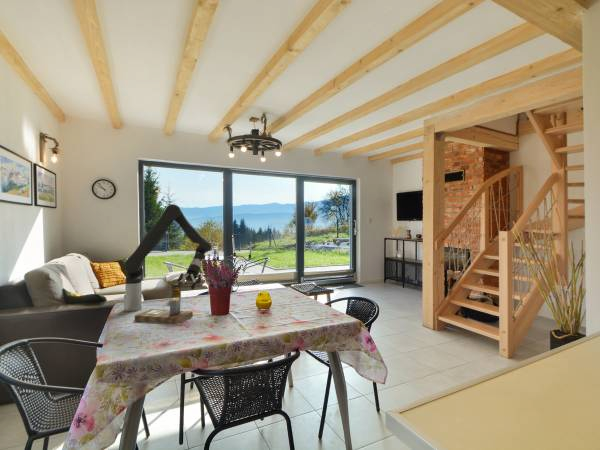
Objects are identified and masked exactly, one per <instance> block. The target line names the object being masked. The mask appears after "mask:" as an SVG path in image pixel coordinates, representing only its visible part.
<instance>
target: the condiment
mask: <svg viewBox="0 0 600 450" xmlns="http://www.w3.org/2000/svg"><path fill="white" fill-rule="evenodd" d="M178 285H179V283H174V284H172V285H171V286H172V287H171V299H172V298H180V303H182V302H183V300H182V299H181V298H182V291H181V290H182V288H181V289H179V288H178ZM166 302H168V303H169V304H170V300H167V301H166Z"/></svg>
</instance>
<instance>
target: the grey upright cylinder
mask: <svg viewBox="0 0 600 450" xmlns="http://www.w3.org/2000/svg"><path fill="white" fill-rule="evenodd" d="M169 301H170V303H169V310H170V315H176V316H177V315H179V314H180V311H181V302H180V298H172V297H171V298H170V299H169Z"/></svg>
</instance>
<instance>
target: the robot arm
mask: <svg viewBox="0 0 600 450" xmlns="http://www.w3.org/2000/svg"><path fill="white" fill-rule="evenodd" d="M174 222H175V223H176V224H177V225H178V226H179V227H180V229H181V230H182V231H183V233H185V235H186V237H187V238H188V239H189V241H191V242H192V244H198V245H197V246H196V248H195V252H194V256H193V258H192V260H191V262H190V263H189V265H188V268H187V269H186V273H180V275H179V277H178V278H177V280H176V281H177V282H178V284H179V285H178V288H179V289H181V290H182V286H183V284H184V283H187V282H192V283H191V285H190V289H191V290H192V291H193V290H194V289H195V287H196V285H199V284H201V280H202V279H203V275H202V274H201V273H200V272H201V270H202V267H203V265H202V263H201V261H199V260H202V259H206V255H205V254H206V253H208V252H209V251H211V250H212V244H211V242H210V241H208V239H206V238H205V237H204V236H202V235H201V234H200V233H199V231H197V229H196V228H195V227H194V226H193V225H192V224H191V222H189V220H188V219H187V217H186V216H185V215H184V214H183V212H182V209H181V207H180V205H177V204H175V203H173V204H169V205H167V206H166V208H165V210H164V211H163V213H162V214H161V216H160V218H159V220H157V221H156V223H155V224H153V225H152V227H151V228H150V229H149V230H148V232H146V233H145V235H144V237H143V239H142V240H141V241H140V243H139V244H138V246H137V247H136V249H135V251H134V252H133V253H132V254H131V255H130V256H129V257H128V258H127V259H126V260H125V262H124V265H123V269H124V271H125V272H126V277H125V280H124V283H125V287H124V289H125V290H124V291H125V293H124V295H123V310H124V311H126V312H136V311H139V310H142V303H143V302H142V295H143V294H142V291H143V290H142V278H143V262H144V260H145V259H146V257H147V256H148V255H149V254H150V253H152V251H153V250H154V249H155V248H156V247H157V246H158V245H159V243H160V242H161V241H162V240H163V238H164V236H165V235H166V232H167V231H168V229H169V227H170V225H172V223H174Z"/></svg>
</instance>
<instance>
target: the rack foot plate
mask: <svg viewBox="0 0 600 450" xmlns="http://www.w3.org/2000/svg"><path fill="white" fill-rule="evenodd" d="M193 311H194V310H193ZM193 311H192V310H191V311H190V310H180V314H179V315H177V316H176V315H170V309H164V308H163V309H160V308H149V309H146V310H145V311H142V312H140V313H137V314H135V315H134V321H137V322H151V323H152V322H153V323H162V324H163V323H164V324H165V323H166V324H176V325H180V324H181V323H183V322H184V321H187V320H188V319H191V318H192V317H193Z"/></svg>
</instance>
